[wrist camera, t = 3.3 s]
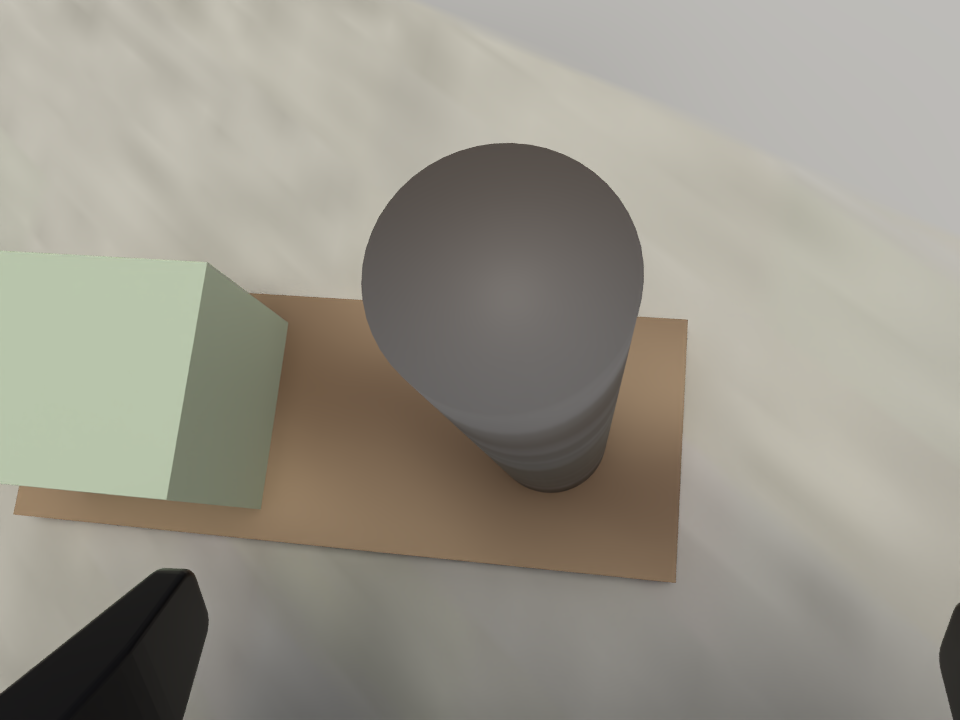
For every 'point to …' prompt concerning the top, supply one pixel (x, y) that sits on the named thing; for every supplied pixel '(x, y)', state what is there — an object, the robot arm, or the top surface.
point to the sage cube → (135, 378)
